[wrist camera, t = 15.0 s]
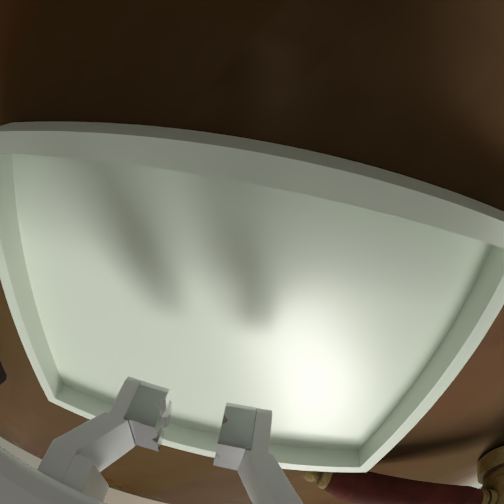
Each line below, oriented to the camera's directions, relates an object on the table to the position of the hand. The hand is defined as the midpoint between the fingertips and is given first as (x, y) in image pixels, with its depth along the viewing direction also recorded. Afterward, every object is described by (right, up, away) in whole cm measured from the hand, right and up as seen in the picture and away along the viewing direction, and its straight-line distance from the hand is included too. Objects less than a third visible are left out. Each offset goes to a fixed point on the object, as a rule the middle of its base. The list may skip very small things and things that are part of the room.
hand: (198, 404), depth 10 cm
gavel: (+17, -11, +9) cm, 22 cm away
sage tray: (0, +2, +3) cm, 4 cm away
